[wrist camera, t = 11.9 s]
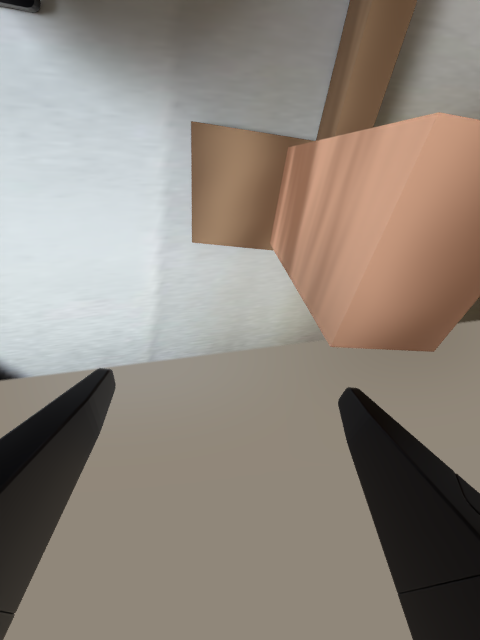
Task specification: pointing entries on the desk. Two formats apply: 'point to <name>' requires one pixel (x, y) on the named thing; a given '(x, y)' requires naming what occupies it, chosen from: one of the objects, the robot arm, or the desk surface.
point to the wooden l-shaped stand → (355, 200)
